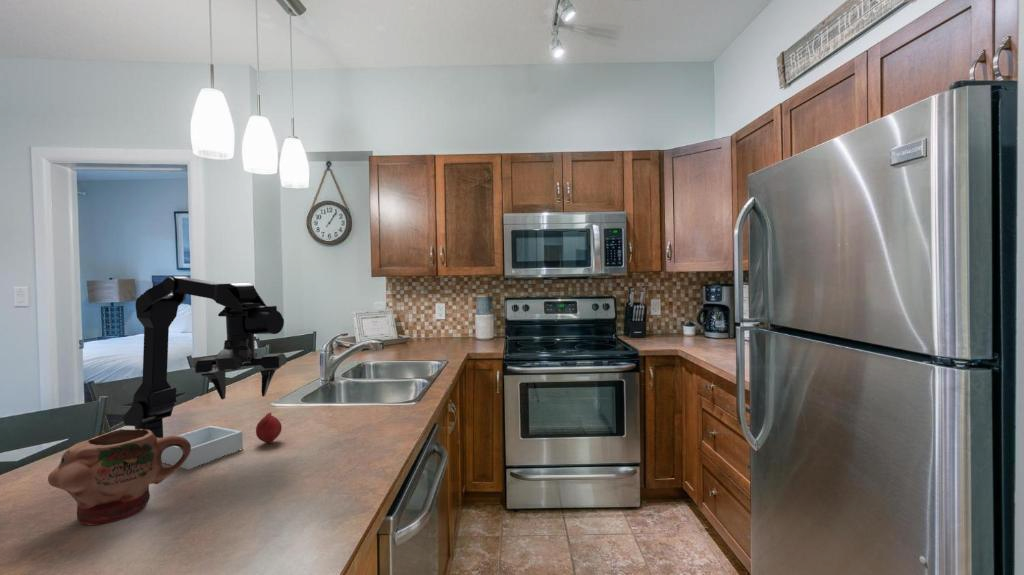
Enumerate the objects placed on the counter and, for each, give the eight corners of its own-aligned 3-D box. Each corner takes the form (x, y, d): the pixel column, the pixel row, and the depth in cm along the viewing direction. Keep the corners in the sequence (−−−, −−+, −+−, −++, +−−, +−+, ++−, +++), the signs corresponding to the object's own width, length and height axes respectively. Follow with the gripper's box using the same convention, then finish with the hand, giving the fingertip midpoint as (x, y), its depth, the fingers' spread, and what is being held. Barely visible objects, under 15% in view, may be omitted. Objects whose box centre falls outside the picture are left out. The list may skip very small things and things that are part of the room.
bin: (156, 461, 105) (155, 442, 105) (211, 442, 117) (210, 425, 117) (188, 469, 100) (187, 449, 100) (243, 449, 112) (242, 431, 111)
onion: (270, 448, 112) (269, 416, 112) (251, 447, 113) (249, 415, 113) (286, 439, 117) (285, 409, 117) (267, 438, 119) (266, 409, 118)
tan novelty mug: (188, 480, 95) (185, 415, 94) (197, 500, 86) (193, 429, 85) (53, 516, 81) (49, 441, 81) (47, 545, 72) (42, 460, 72)
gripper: (179, 341, 100) (183, 410, 100) (268, 336, 103) (272, 403, 103) (205, 334, 111) (208, 397, 111) (285, 330, 114) (288, 391, 114)
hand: (243, 397), depth 110 cm, fingers open, 9 cm apart
